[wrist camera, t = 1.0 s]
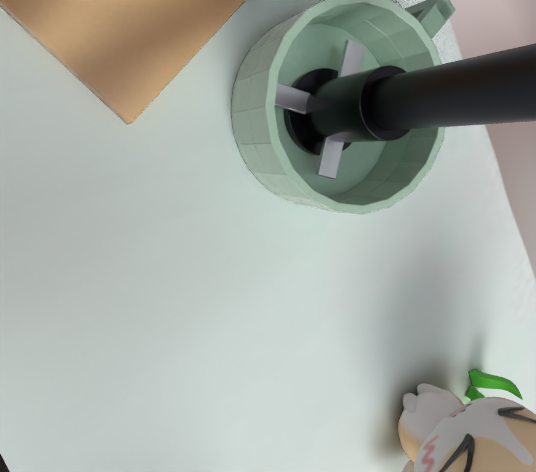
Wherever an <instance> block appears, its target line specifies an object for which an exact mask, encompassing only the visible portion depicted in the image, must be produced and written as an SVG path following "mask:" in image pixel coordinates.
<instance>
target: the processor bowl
mask: <svg viewBox="0 0 536 472" xmlns="http://www.w3.org/2000/svg"><path fill="white" fill-rule="evenodd" d="M346 40H351V41H354V42H356V43H359V44H361V45H364V46H366V47H365V52H364V56H363V60H362V65H361V69H360V72H362V71H366V70H370V69H374V68H378V67H382V66H386V65H392V66H397V67H400V68H402V69H403V70H405V71H406V72H410V71H414V70H419V69H423V68H428V67H432V66H437V65H441V61H440V58H439V55H438V52H437V49H436V46H435V44H434V43H433V41H432V40H431V38H430V37H429V35H428V34H427V32H426V31H425V30H424V28H423V27H422V25H421V24H420V22H419V21H418V20H417V19H416V18H415V17H414V16H412V15H411V14H410V13H408V12H407V11H406V10H405V9H403V8H402V7H401V6H399V5H398V4H397V3H396V2H394V1H392V0H323V1H321V2H319V3H317V4H315V5H314V6H312V7H310V8H308V9H306V10H304V11H302V12H300V13H299V14H297V15H295V16H293V17H291V18H289V19H288V20H286V21H284V22H282V23H280V24H279V25H277V26H275V27H273V28H271V29H270V30H268V32H267V33H265V34H264V35H263V36H262V37H261V38H260V39H259V40H258V41H257V42H256V43H255V44H254V46H253V47H252V48H251V49H250V51H249V52H248V54H247V55H246V57H245V59H244V60H243V62H242V64H241V67H240V69H239V71H238V74H237V77H236V80H235V84H234V88H233V95H232V108H231V115H232V125H233V131H234V135H235V140H236V143H237V145H238V148H239V151H240V153H241V155H242V157H243V159H244V161H245V163H246V165H247V166H248V168H249V169H250V171H251V172H252V173H253V175H254V176H255V177H256V178H257V179H258V180H259V182H261V183H262V184H263V185H264V186H265V187H266V188H267V189H269V190H270V191H272V192H273V193H275V194H276V195H278V196H280V197H282V198H284V199H286V200H289V201H292V202H294V203H296V204H299V205H304V206H309V207H314V208H319V209H324V210H329V211H334V212H342V213H352V214H367V213H371V212H374V211H378V210H382V209H385V208H389V207H391V206H392V205H394V204H395V203H397V202H398V201H399V200H401V199H402V198H404V197H405V196H407V195H408V194H410V193H411V192H412V191H414V190H415V188H416V187H417V186H418V184H419V183H420V182H421V181H422V179H423V178H424V177H425V176H426V174H427V173H428V172H429V170H430V169H431V167H432V165H433V163H434V160H435V158H436V156H437V153H438V151H439V149H440V146H441V144H442V142H443V139H444V132H445V127H435V128H419V129H411V130H410V131H409V132H408V133H407V134H406V135H405V136H403V137H402V138H400V139H397V140H394V141H375V142H352V143H351V145H350V146H349V147H347V148H346V149H345V150H343V151H342V153H341V157H340V162H339V166H338V171H337V175H336V179H331V178H327V177H323V176H319V175H316V171H317V166H318V162H319V157H320V156H316V155H312V154H309V153H307V152H305V151H303V150H302V149H300V148H299V147H298V146H297V145H296V144H295V143H294V142H293V140H292V139H291V137H290V136H289V134H288V131H287V129H286V126H285V121H284V108H281V107H278V106H275V98H276V90H277V83H280V84H283V85H286V86H289V87H291V86H292V84H293V83H294V82H295V81H296V80H297V79H298V78H299V77H300V76H301V75H303V74H305V73H307V72H309V71H312V70H315V69H320V68H330V69H334V70H337V71H339V68H340V64H341V59H342V55H343V50H344V46H345V41H346Z"/></svg>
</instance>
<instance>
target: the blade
mask: <svg viewBox="0 0 536 472" xmlns="http://www.w3.org/2000/svg"><path fill="white" fill-rule="evenodd" d="M365 47H366V46H364V45H361V44H359V43H356V42H354V41H351V40H346V41H345V46H344V50H343V55H342V59H341V64H340V68H339V71H337V70H334V69H330V68H320V69H315V70H312V71H309V72H307V73H305V74H303V75H301V76H300V77H299V78H298V79H297V80H296V81H295V82H294V83H293V84H292V86H291V87H289V86H286V85H283V84H280V83H277V90H276V98H275V106H278V107H281V108H284V121H285V126H286V129H287V131H288V134H289V136H290V137H291V139H292V140H293V142H294V143H295V144H296V145H297V146H298V147H299V148H300V149H302V150H303V151H305V152H307V153H309V154H312V155H316V156H320V157H319V162H318V166H317V171H316V175H319V176H323V177H327V178H331V179H336V175H337V171H338V166H339V162H340V157H341V153H342V151H343V150H345V149H346V148H347V147H349V146H350V145H351V143H352V142H375V141H394V140H397V139H400V138H402V137H403V136H405V135H406V134H407V133H408V132H409V131H410V130H411V129H419V128H435V127H450V126H466V125H481V124H495V123H512V122H527V121H536V44H531V45H527V46H522V47H518V48H513V49H509V50H505V51H500V52H495V53H492V54H486V55H482V56H477V57H473V58H469V59H464V60H459V61H455V62H450V63H446V64H441V65H437V66H432V67H428V68H423V69H419V70H414V71H410V72H406V71H405V70H403V69H402V68H400V67H397V66H392V65H386V66H382V67H378V68H374V69H370V70H366V71H362V72H360V69H361V65H362V60H363V56H364V52H365Z"/></svg>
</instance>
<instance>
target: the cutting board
mask: <svg viewBox="0 0 536 472" xmlns="http://www.w3.org/2000/svg"><path fill="white" fill-rule="evenodd" d="M244 1H245V0H0V7H2V8H3V9H4V10H5V11H6V12H7V13H8V14H9V15H10V16H11V17H12V18H13V19H14V20H16V21H17V22H18V23H19V24H20V25H21V26H22V27H23V28H24V29H25V30H26V31H27V32H28V33H30V34H31V35H32V36H33V37H34V38H35V39H36V40H37V41H38V42H39V43H40V44H41V45H42V46H44V47H45V48H46V49H47V50H48V51H49V52H50V53H51V54H52V55H53V56H54V57H55V58H56V59H58V60H59V61H60V62H61V63H62V64H63V65H64V66H65V67H66V68H67V69H68V70H69V71H70V72H72V73H73V74H74V75H75V76H76V77H77V78H78V79H79V80H80V81H81V82H82V83H83V84H85V85H86V86H87V87H88V88H89V89H90V90H91V91H92V92H93V93H94V94H95V95H96V96H97V97H99V98H100V99H101V100H102V101H103V102H104V103H105V104H106V105H107V106H108V107H109V108H110V109H111V110H113V111H114V112H115V113H116V114H117V115H118V116H119V117H120V118H121V119H122V120H123V121H124V122H125V123H127V124H130V123H132V122H133V121H134V120H135V119H136V118H137V117H138V116H139V115H140V114H141V113H142V112H143V111H144V110H145V108H146V107H147V106H148V105H149V104H150V103H151V102H152V101H153V100H154V99H155V98H156V97H157V95H158V94H159V93H160V92H161V91H162V90H163V89H164V88H165V87H166V86H167V85H168V84H169V82H170V81H171V80H172V79H173V78H174V77H175V76H176V75H177V74H178V73H179V72H180V71H181V70H182V68H183V67H184V66H185V65H186V64H187V63H188V62H189V61H190V60H191V59H192V58H193V57H194V55H195V54H196V53H197V52H198V51H199V50H200V49H201V48H202V47H203V46H204V45H205V44H206V43H207V41H208V40H209V39H210V38H211V37H212V36H213V35H214V34H215V33H216V32H217V31H218V30H219V28H220V27H221V26H222V25H223V24H224V23H225V22H226V21H227V20H228V19H229V18H230V17H231V16H232V14H233V13H234V12H235V11H236V10H237V9H238V8H239V7H240V6H241V5H242V4H243V3H244Z"/></svg>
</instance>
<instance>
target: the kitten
mask: <svg viewBox="0 0 536 472" xmlns="http://www.w3.org/2000/svg"><path fill="white" fill-rule="evenodd" d="M469 375H470V378H471V381H472V385H473V386H475V387H481V388H491V389H503V390H506V391H509V392H511V393H512V394H514V395H515V396H517V397H519V398H520V399H522V397H521V394H520V392H519V390H518V388H517V387H516V385H515V384H514V383H512V382H511V381H510V380H508V379H505V378H503V377H498V376H494V375H490V374H486V373H483V372H481V371H479V370H477V369H475V370H473V371H471V372H469ZM417 392H418V394H419V395H417V396H416V395H414V394H412V393H406V394H405V395H404V396H403V406H404V411H403V413H402V415H401V417H400V420H399V425H398V432H399V437H400V441H401V445H402V448H403V450H404V452H405V454H406V455H407V457H408V458H409V459H410V460H409V461H408V463H407V464H406V466H405V467H404V469H403V471H402V472H536V415H535V414H534V413H533V412H531V411H530V410H528V409H527V408H525V407H524V406H522V405H520V404H518V403H516V402H514V401H511V400H508V399H505V398H500V397H485V396H484V395H483V394H481V393H480V392H478V391H477V390H476V389H474V388H473V387H471V386H470V390H469V391H468V393H467V394H466V395H465V396H466V397H468V398H470V399H471V402H469V403H467V404H465V405H464V404H463V403H462V402H461V400H460V399H459V398H458V397H457V396H456V395H454V394H453V393H451V392H450V391H447V390H444V389H440V388H438V387H436V386H433V385H430V384H425V383H422V384H419V385H418V387H417ZM522 400H523V399H522Z"/></svg>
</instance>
